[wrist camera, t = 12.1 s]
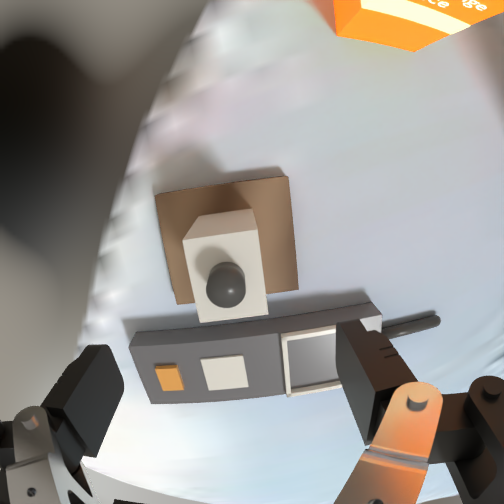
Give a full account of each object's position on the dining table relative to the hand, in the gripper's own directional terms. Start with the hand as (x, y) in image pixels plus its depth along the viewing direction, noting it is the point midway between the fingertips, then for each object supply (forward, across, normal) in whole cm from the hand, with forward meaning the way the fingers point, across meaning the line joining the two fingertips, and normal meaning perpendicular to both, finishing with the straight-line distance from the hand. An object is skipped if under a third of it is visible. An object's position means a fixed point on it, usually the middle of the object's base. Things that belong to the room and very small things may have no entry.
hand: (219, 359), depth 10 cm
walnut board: (+15, 0, 0) cm, 15 cm away
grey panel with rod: (+15, -5, +11) cm, 20 cm away
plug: (+14, 0, 0) cm, 14 cm away
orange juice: (+16, -15, -20) cm, 29 cm away
